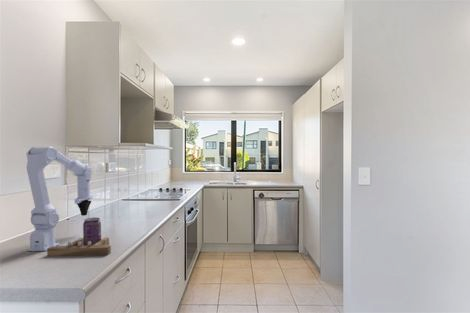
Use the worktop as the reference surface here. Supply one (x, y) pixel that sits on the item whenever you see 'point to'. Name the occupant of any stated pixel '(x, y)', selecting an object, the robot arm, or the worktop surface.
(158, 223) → the worktop surface
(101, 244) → the pin nest
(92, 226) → the beverage can
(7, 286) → the worktop surface
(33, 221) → the robot arm
